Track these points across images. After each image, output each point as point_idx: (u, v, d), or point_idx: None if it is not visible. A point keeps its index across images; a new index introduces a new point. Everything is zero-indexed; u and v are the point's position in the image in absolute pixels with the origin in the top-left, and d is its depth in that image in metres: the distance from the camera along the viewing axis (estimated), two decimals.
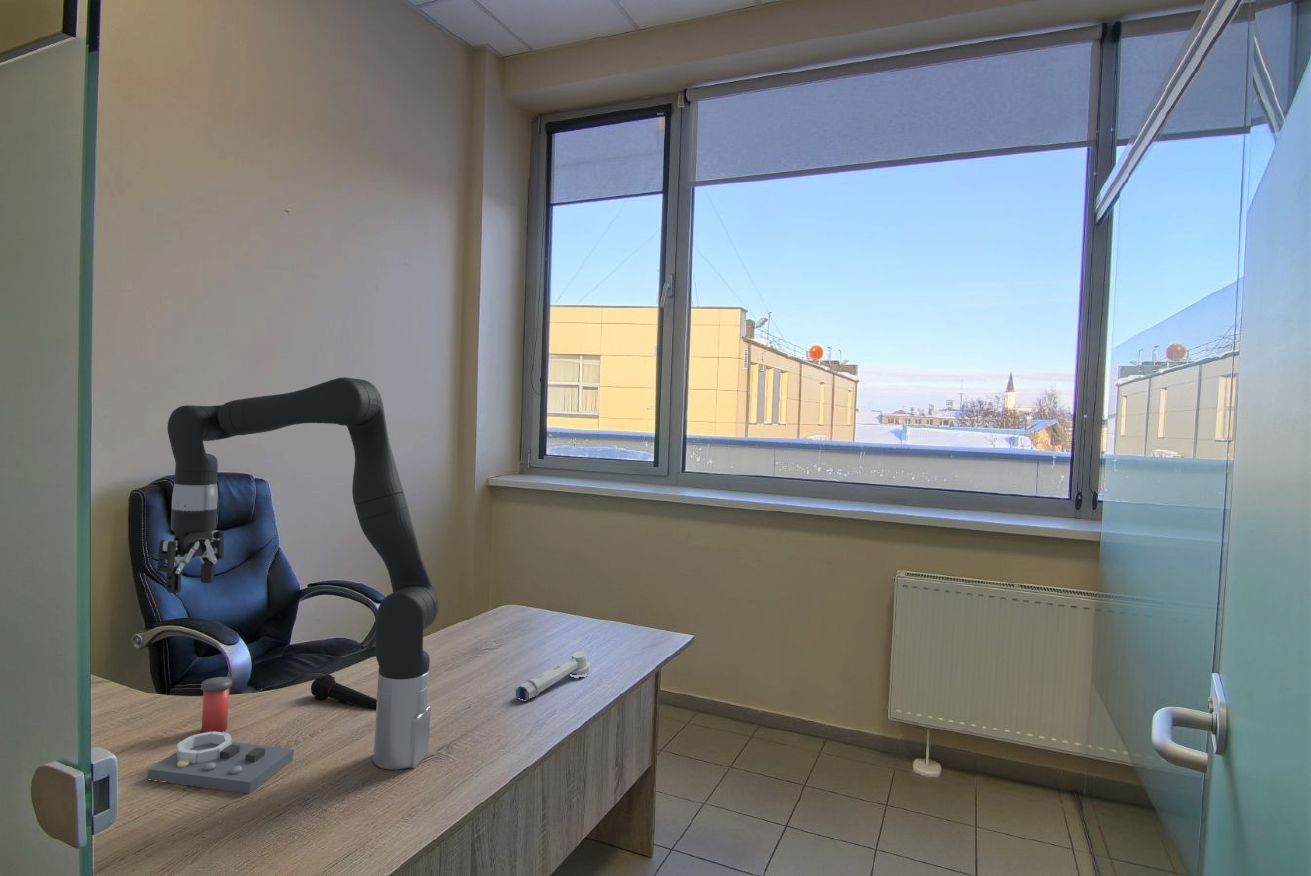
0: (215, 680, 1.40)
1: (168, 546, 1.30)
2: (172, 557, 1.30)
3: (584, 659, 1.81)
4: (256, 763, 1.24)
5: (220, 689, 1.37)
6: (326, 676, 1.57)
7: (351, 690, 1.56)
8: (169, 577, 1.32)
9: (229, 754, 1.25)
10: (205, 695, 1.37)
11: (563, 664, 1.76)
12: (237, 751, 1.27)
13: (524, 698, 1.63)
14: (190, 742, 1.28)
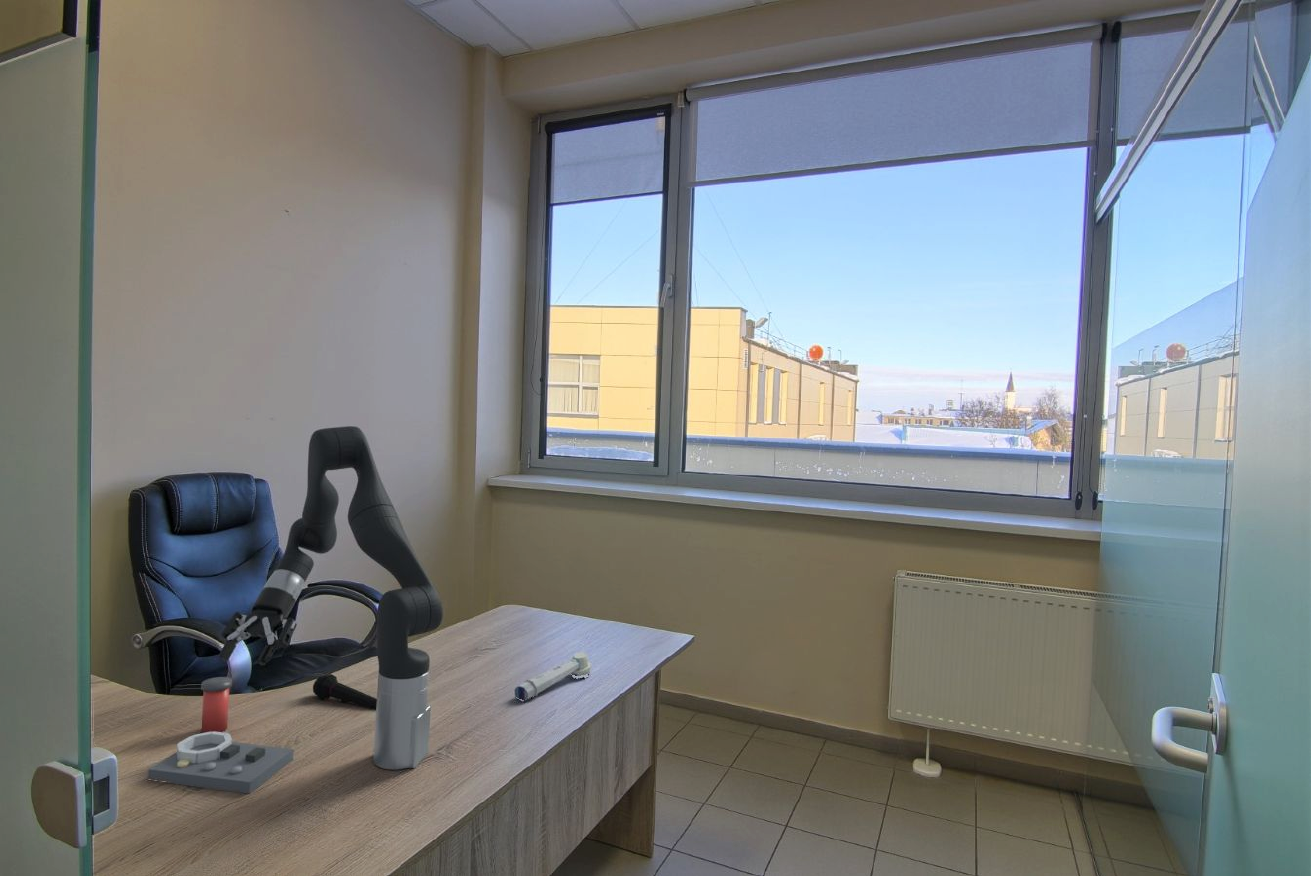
0: (215, 680, 1.40)
1: None
2: (229, 624, 1.51)
3: (585, 660, 1.80)
4: (256, 763, 1.24)
5: (220, 689, 1.37)
6: (328, 676, 1.58)
7: (353, 690, 1.56)
8: None
9: (229, 754, 1.25)
10: (205, 695, 1.37)
11: (563, 664, 1.76)
12: (237, 751, 1.27)
13: (523, 698, 1.63)
14: (190, 742, 1.28)
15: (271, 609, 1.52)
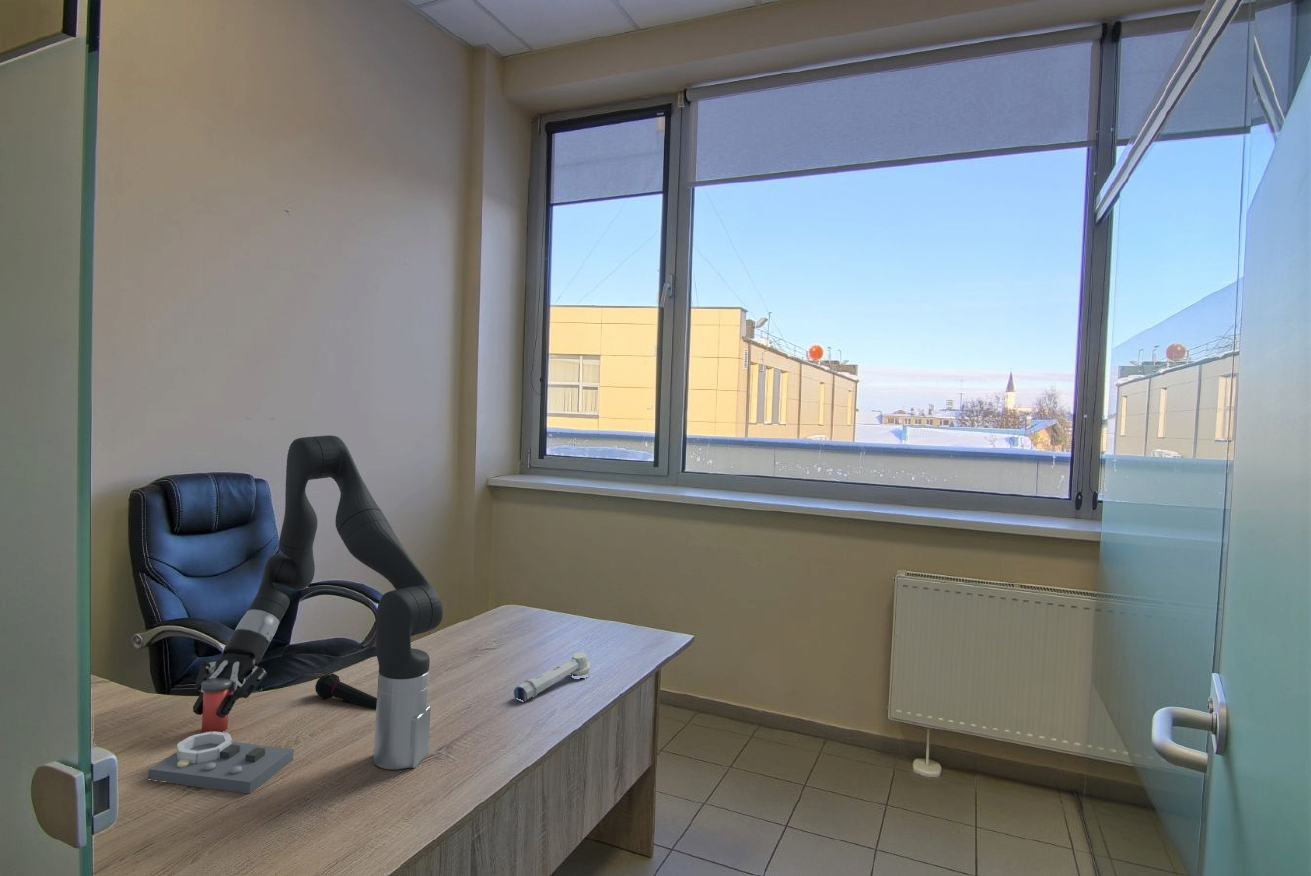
0: (215, 680, 1.40)
1: None
2: (200, 675, 1.42)
3: (584, 660, 1.80)
4: (256, 763, 1.24)
5: (220, 689, 1.37)
6: (330, 675, 1.58)
7: (354, 689, 1.56)
8: None
9: (229, 754, 1.25)
10: (205, 695, 1.37)
11: (563, 665, 1.76)
12: (237, 751, 1.27)
13: (522, 698, 1.63)
14: (190, 742, 1.28)
15: (243, 653, 1.44)
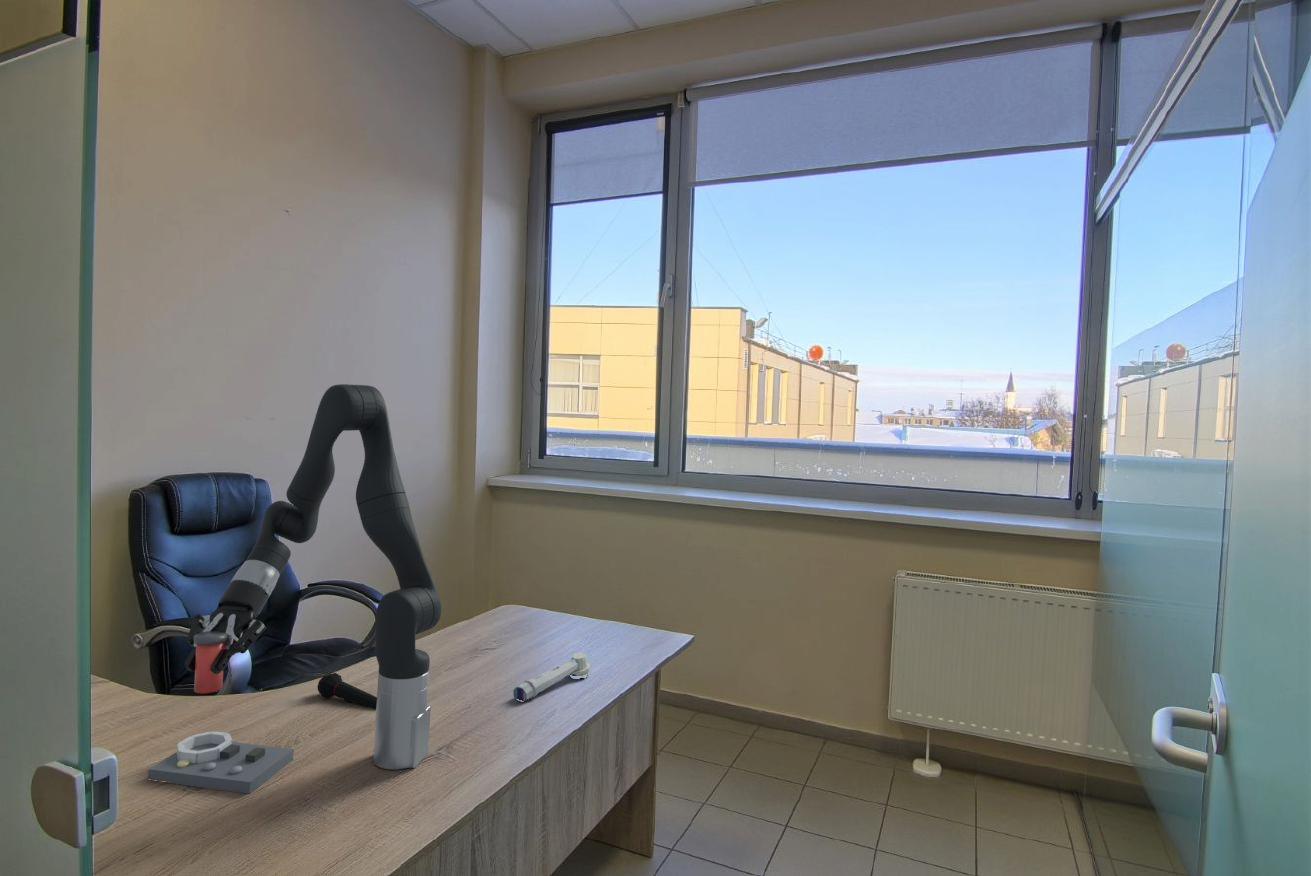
0: (209, 633, 1.27)
1: None
2: (193, 628, 1.29)
3: (584, 660, 1.80)
4: (256, 763, 1.24)
5: (214, 642, 1.25)
6: (332, 674, 1.58)
7: (356, 689, 1.57)
8: None
9: (229, 754, 1.25)
10: (198, 649, 1.25)
11: (562, 665, 1.75)
12: (237, 751, 1.27)
13: (522, 699, 1.63)
14: (190, 742, 1.28)
15: (239, 605, 1.32)
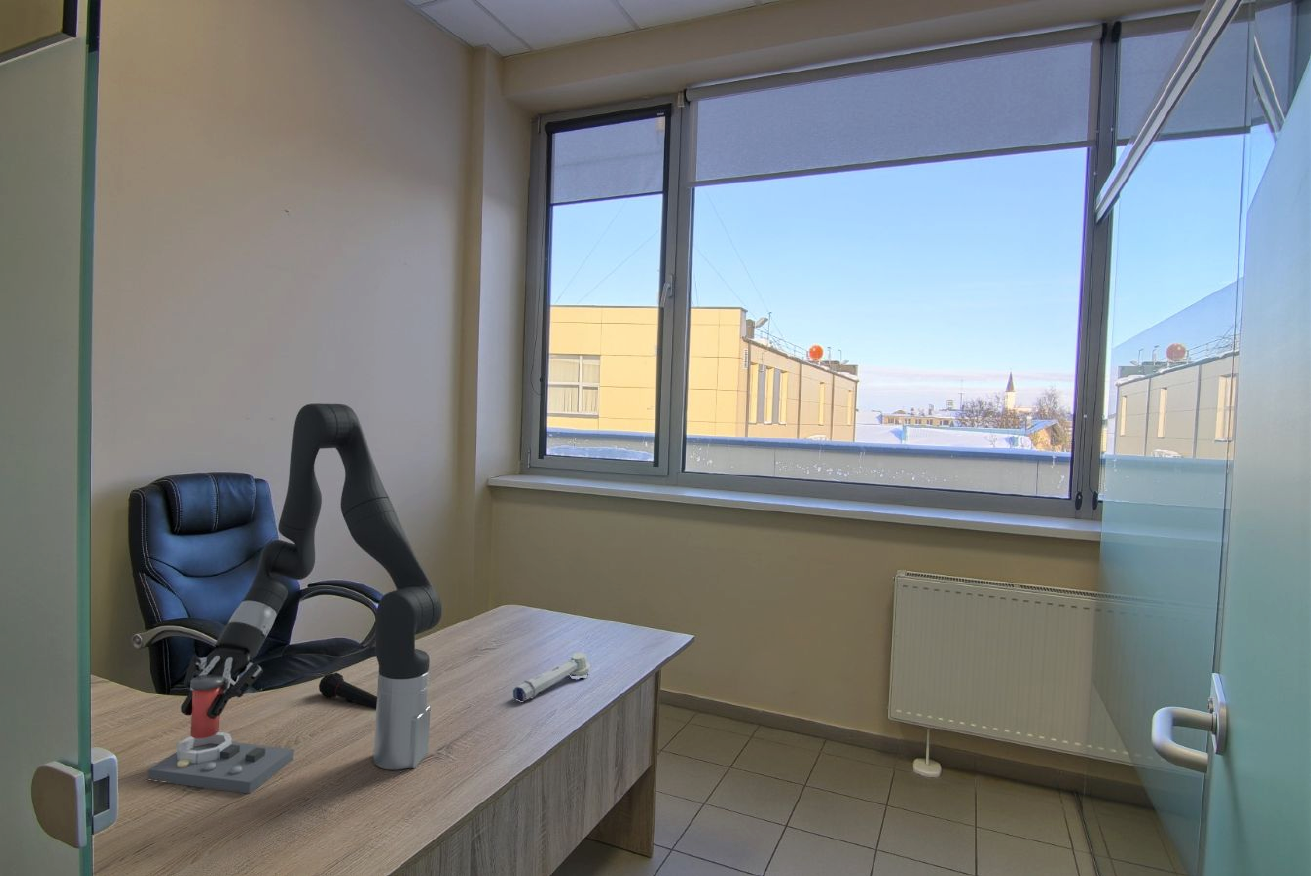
0: (205, 677, 1.27)
1: None
2: (189, 671, 1.30)
3: (584, 660, 1.80)
4: (256, 763, 1.24)
5: (211, 687, 1.25)
6: (334, 674, 1.59)
7: (357, 689, 1.57)
8: None
9: (229, 754, 1.25)
10: (194, 694, 1.25)
11: (562, 665, 1.75)
12: (237, 751, 1.27)
13: (521, 699, 1.62)
14: (190, 742, 1.28)
15: (236, 648, 1.32)
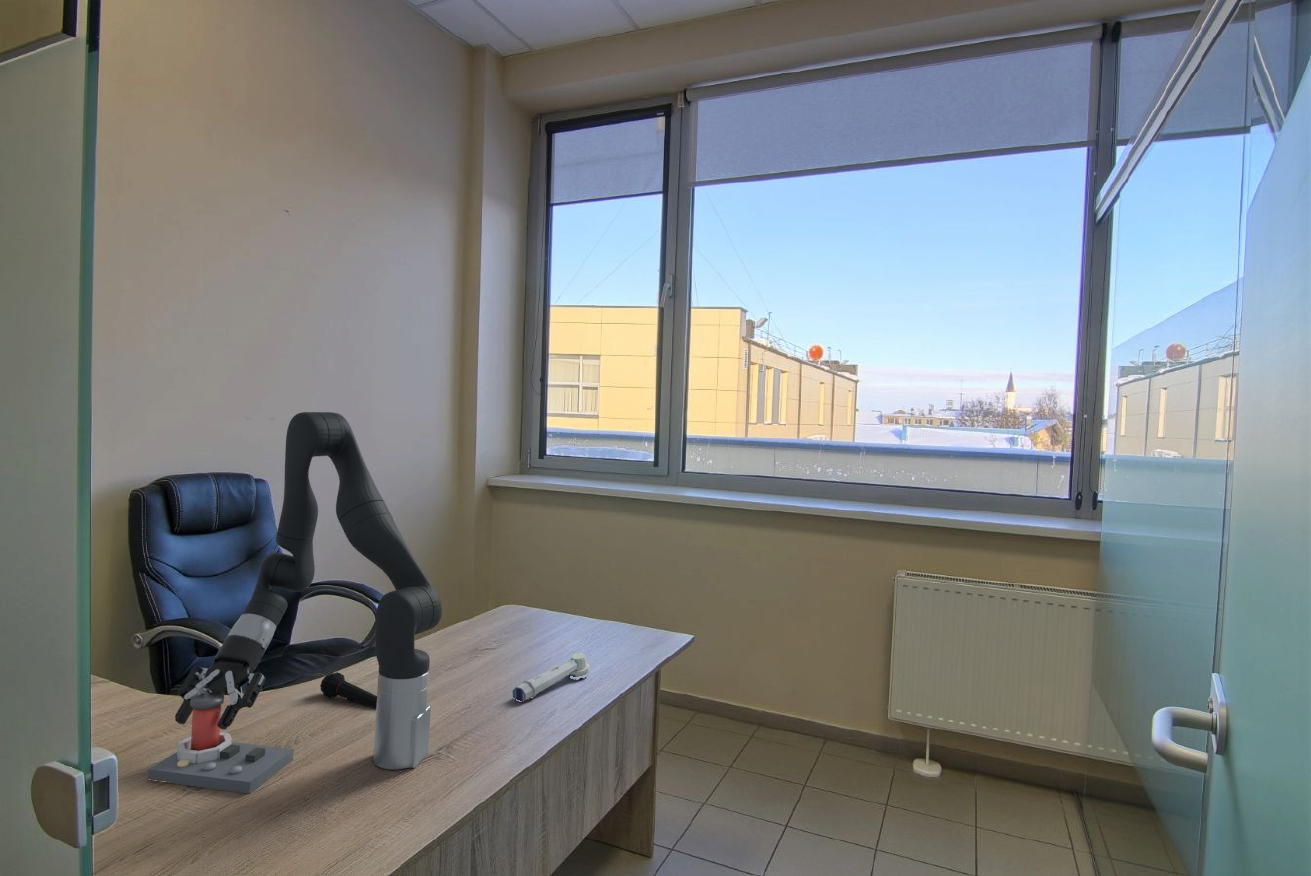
0: (205, 696, 1.27)
1: None
2: (187, 680, 1.30)
3: (583, 661, 1.80)
4: (256, 763, 1.24)
5: (211, 707, 1.25)
6: (335, 674, 1.59)
7: (358, 689, 1.57)
8: None
9: (229, 754, 1.25)
10: (194, 713, 1.25)
11: (562, 665, 1.75)
12: (237, 751, 1.27)
13: (521, 699, 1.62)
14: (190, 742, 1.28)
15: (236, 661, 1.32)
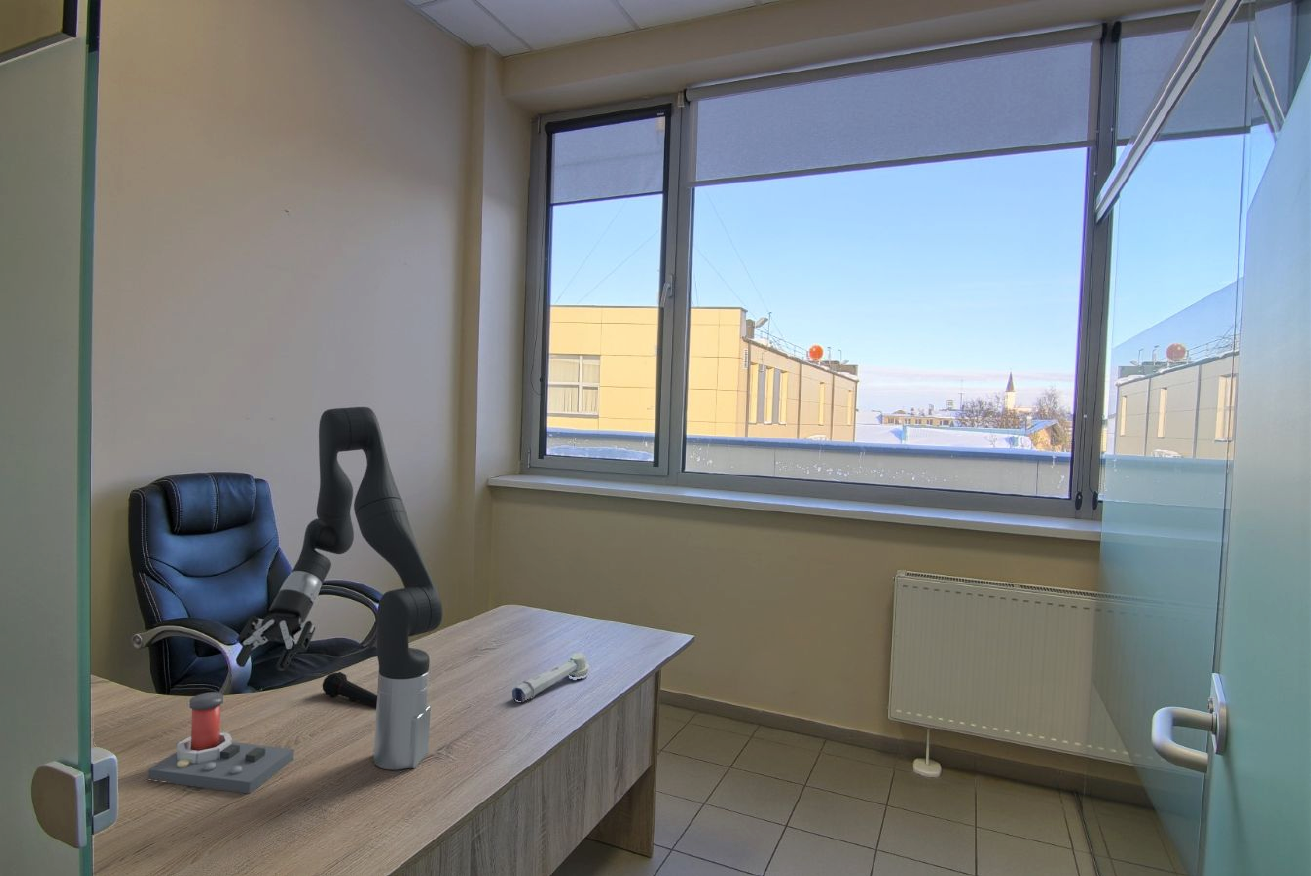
0: (204, 696, 1.27)
1: None
2: (245, 629, 1.44)
3: (583, 661, 1.80)
4: (256, 763, 1.24)
5: (210, 707, 1.25)
6: (337, 674, 1.59)
7: (360, 688, 1.57)
8: None
9: (229, 754, 1.25)
10: (194, 713, 1.25)
11: (561, 666, 1.75)
12: (237, 751, 1.27)
13: (520, 699, 1.62)
14: (190, 742, 1.28)
15: (288, 612, 1.46)
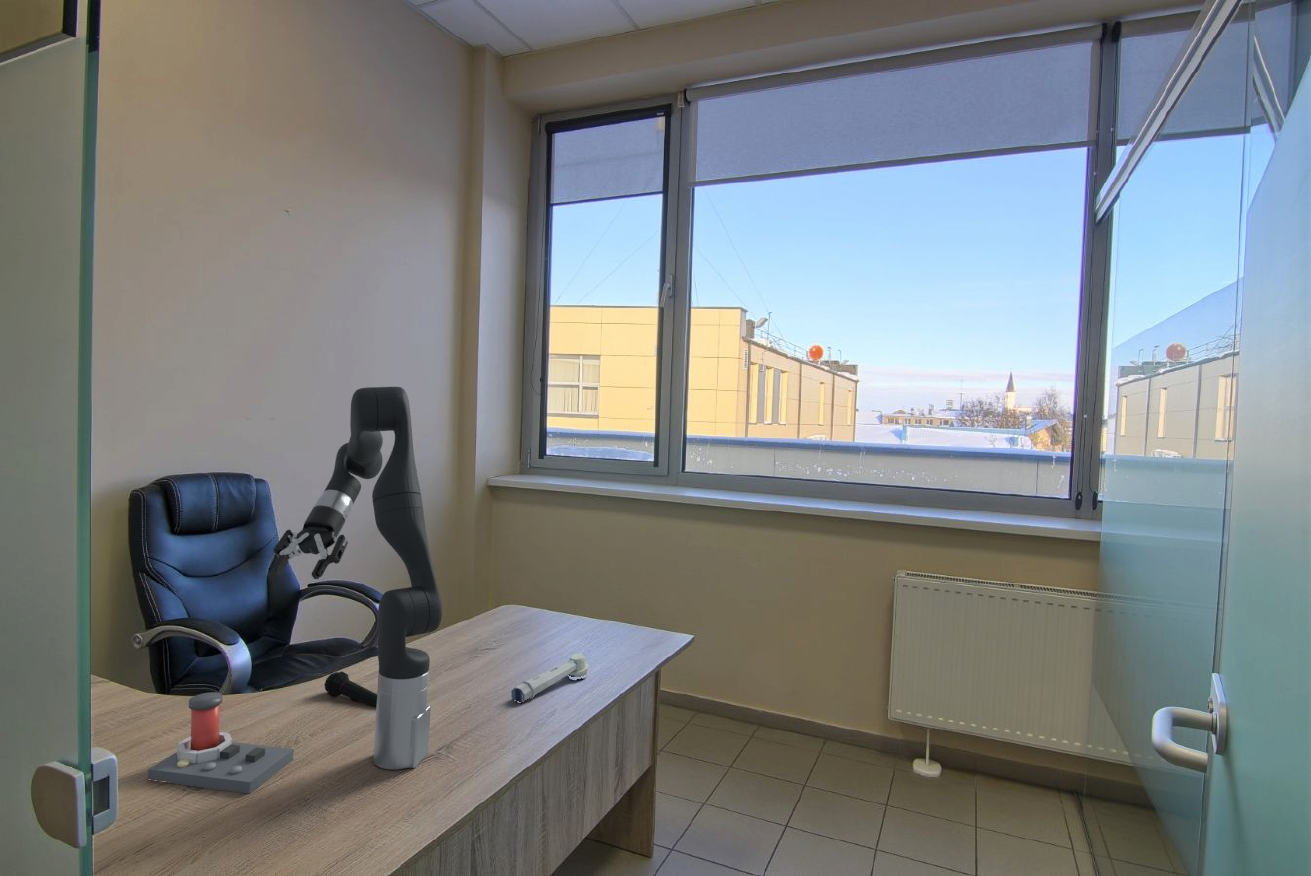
0: (203, 697, 1.27)
1: None
2: (281, 541, 1.51)
3: (582, 661, 1.79)
4: (256, 763, 1.24)
5: (210, 706, 1.25)
6: (339, 673, 1.60)
7: (362, 688, 1.57)
8: None
9: (229, 754, 1.25)
10: (193, 714, 1.25)
11: (561, 666, 1.75)
12: (237, 751, 1.27)
13: (520, 700, 1.62)
14: (190, 742, 1.28)
15: (322, 526, 1.52)
